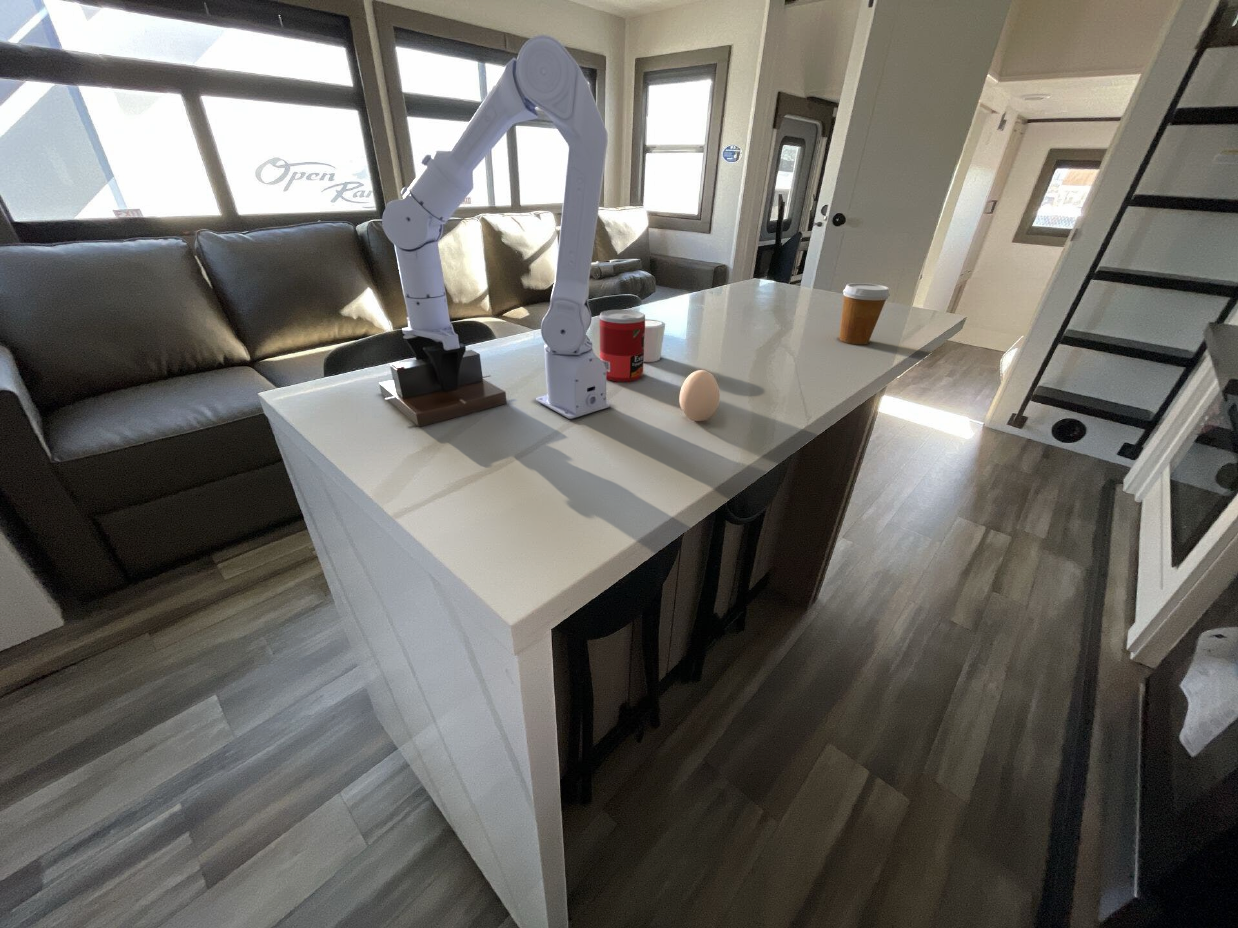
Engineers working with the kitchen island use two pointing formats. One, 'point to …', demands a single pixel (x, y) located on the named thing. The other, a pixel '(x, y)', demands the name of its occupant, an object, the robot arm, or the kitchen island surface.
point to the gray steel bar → (432, 375)
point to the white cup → (653, 340)
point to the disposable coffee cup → (861, 311)
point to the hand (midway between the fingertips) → (440, 384)
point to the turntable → (445, 401)
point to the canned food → (622, 344)
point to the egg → (699, 395)
